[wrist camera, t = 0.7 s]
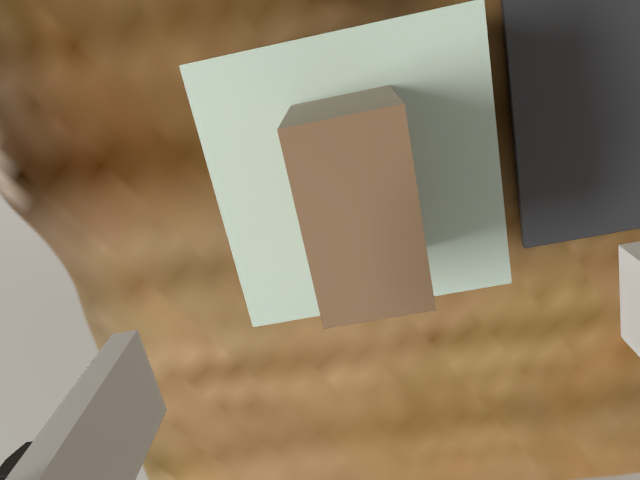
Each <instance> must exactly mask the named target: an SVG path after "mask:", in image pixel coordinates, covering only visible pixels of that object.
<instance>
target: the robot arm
mask: <svg viewBox="0 0 640 480" xmlns="http://www.w3.org/2000/svg"><path fill="white" fill-rule="evenodd" d="M619 279H620V315H621V337H622V338H623V339H624V341H625V342H626V343H627V344H628V345H629V346H630V347H631V348H632V349H633V350H634V351H635V353H636V354H637V355H638V356H639V357H640V241H639V242H633V243H627V244H622V245H619ZM166 410H167V409H166V407H165V404H164V401H163V398H162V396H161V393H160V390H159V387H158V385H157V382H156V379H155V376H154V374H153V371H152V368H151V365H150V363H149V360H148V357H147V354H146V352H145V349H144V346H143V343H142V341H141V338H140V335H139V332H138V330H133V331H127V332H121V333H116V334H112V335H111V336H110V337H109V339H108V340H107V341H106V343H105V344H104V346H103V347H102V348H101V350H100V351H99V352H98V354H97V355H96V357H95V358H94V359H93V360H92V362H91V363H90V365H89V366H88V367H87V369H86V370H85V371H84V373H83V374H82V375H81V377H80V378H79V380H78V381H77V383H76V384H75V385H74V386H73V388H72V389H71V390H70V392H69V393H68V395H67V396H66V397H65V399H64V400H63V402H62V403H61V404H60V405H59V407H58V409H56V411H55V412H54V414H53V415H52V416H51V418H50V419H49V420H48V422H47V423H46V425H45V426H44V427H43V429H42V430H41V431H40V433H39V434H38V435H37V437H36V438H35V439H34V441H32V442H26V443H25V444H24V445H22V446H21V447H20V448H19V449H18V450H16V451H15V452H14V453H13V454H12V455H11V456H10V457H8V458H7V459H6V460H5V461H4V463H3V464H2V465H1V467H0V480H135V479H136V477H137V475H138V473H139V471H140V468H141V466H142V464H143V462H144V459H145V457H146V455H147V453H148V450H149V448H150V446H151V444H152V441H153V439H154V437H155V435H156V432H157V430H158V428H159V426H160V423H161V421H162V419H163V417H164V414H165V412H166Z"/></svg>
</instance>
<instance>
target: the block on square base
mask: <svg viewBox="0 0 640 480" xmlns="http://www.w3.org/2000/svg"><path fill="white" fill-rule="evenodd" d="M179 67H180V71H181V74H182V78H183V81H184V85H185V88H186V92H187V95H188V99H189V102H190V106H191V109H192V113H193V117H194V120H195V124H196V127H197V131H198V134H199V138H200V141H201V145H202V148H203V152H204V155H205V159H206V163H207V166H208V170H209V173H210V177H211V180H212V184H213V187H214V191H215V194H216V198H217V201H218V205H219V209H220V212H221V216H222V219H223V223H224V226H225V230H226V233H227V237H228V240H229V244H230V248H231V251H232V255H233V258H234V262H235V265H236V269H237V272H238V276H239V279H240V283H241V286H242V290H243V294H244V297H245V301H246V304H247V308H248V311H249V315H250V318H251V322H252V325H253V327H256V326H262V325H268V324H274V323H280V322H286V321H291V320H297V319H303V318H309V317H315V316H321V320H322V325H323V329H327V328H332V327H338V326H344V325H350V324H356V323H362V322H368V321H374V320H380V319H386V318H392V317H398V316H404V315H410V314H416V313H422V312H428V311H434V310H436V307H435V301H434V296H438V295H444V294H450V293H455V292H461V291H467V290H473V289H479V288H485V287H491V286H497V285H502V284H508V283H512V281H511V271H510V260H509V250H508V240H507V230H506V219H505V209H504V199H503V188H502V178H501V168H500V158H499V147H498V137H497V127H496V116H495V106H494V96H493V85H492V75H491V65H490V55H489V44H488V34H487V24H486V13H485V3H484V0H473V1H468V2H464V3H459V4H455V5H450V6H446V7H441V8H437V9H432V10H428V11H423V12H419V13H414V14H409V15H405V16H400V17H396V18H391V19H387V20H382V21H378V22H373V23H369V24H364V25H360V26H355V27H351V28H346V29H341V30H337V31H332V32H328V33H323V34H319V35H314V36H310V37H305V38H301V39H296V40H292V41H287V42H283V43H278V44H273V45H269V46H264V47H260V48H255V49H251V50H246V51H242V52H237V53H233V54H228V55H224V56H219V57H215V58H210V59H205V60H201V61H196V62H192V63H187V64H183V65H179Z"/></svg>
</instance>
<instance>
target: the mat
mask: <svg viewBox="0 0 640 480" xmlns="http://www.w3.org/2000/svg"><path fill="white" fill-rule="evenodd" d="M501 4H502V15H503V26H504V38H505V49H506V61H507V72H508V84H509V95H510V106H511V118H512V129H513V141H514V152H515V164H516V175H517V187H518V198H519V209H520V221H521V232H522V244H523V247H524V248H530V247H535V246H541V245H547V244H552V243H558V242H564V241H569V240H575V239H581V238H586V237H592V236H598V235H603V234H609V233H615V232H620V231H626V230H632V229H637V228H640V0H501Z"/></svg>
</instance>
